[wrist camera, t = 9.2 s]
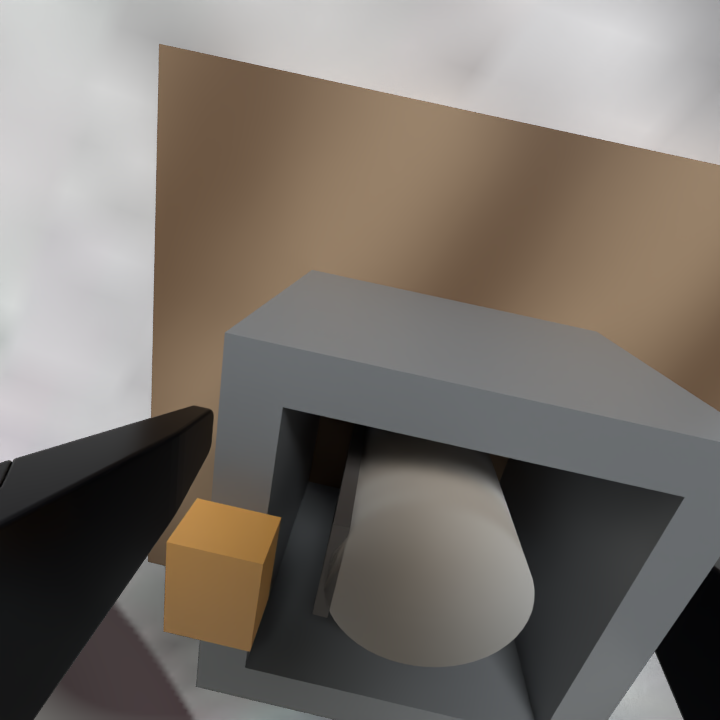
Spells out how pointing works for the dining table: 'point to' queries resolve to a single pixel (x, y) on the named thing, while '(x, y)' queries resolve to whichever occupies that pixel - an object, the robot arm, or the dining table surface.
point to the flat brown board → (422, 275)
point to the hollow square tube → (518, 483)
